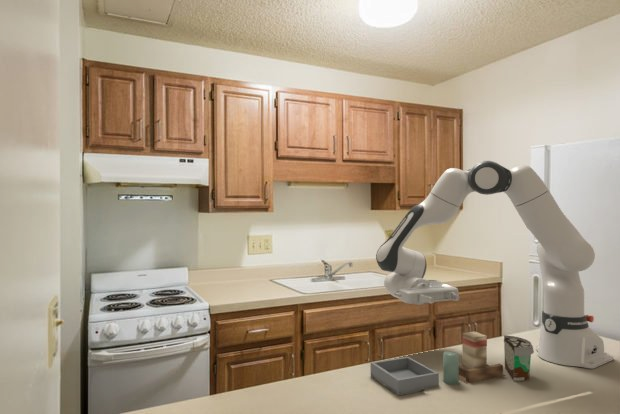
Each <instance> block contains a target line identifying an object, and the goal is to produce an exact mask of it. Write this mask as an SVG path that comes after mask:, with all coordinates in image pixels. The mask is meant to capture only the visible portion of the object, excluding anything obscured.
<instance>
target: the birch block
mask: <svg viewBox="0 0 620 414" xmlns="http://www.w3.org/2000/svg"><path fill="white" fill-rule="evenodd" d="M461 335H462V336H461V343H462V344H461V346H462V353H461V354H462V361H461V363H462V365H461V367H463V368H465V369H467V370H468V369H473V368H479V367H484V366H487V364H488V362H487V360H488V359H487V356H488V355H487V346H488V340H487V338H488V337H487V335H485V334H484V333H480V332H477V331H474V330H473V331H467V332H462V334H461Z"/></svg>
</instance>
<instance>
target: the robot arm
mask: <svg viewBox="0 0 620 414" xmlns="http://www.w3.org/2000/svg"><path fill="white" fill-rule="evenodd" d="M474 192H476V193H478V194H480V195H487V196H488V195H494V194H499V193H504V194H505V195H507V197H508V198H509V199H510V202H511V203H512V205H513V206H514V208H515V211H516V212H517V213H518V215H519V216H520V219H521V220H522V222H523V223H524V225H525V226H526V228H527V229H528V230H529V231H530V233H531V234H532V235H533V236H534V238H535V239H536V240H537V242H538V243H537V244H536V245H537V246H536V252H537V255H538V260H539V267H540V269H539V270H540V275H541V279H542V286H543V287H542V289H543V290H542V291H543V299H542V300H543V310H541V323H542V325H541V326H540V329H539V337H538V345H537V346H535V347H536V348H535V350H536V351H537V356H538V357H539V358H541V359H543V360H545V361H547V362H550V363H553V364H557V365H562V366H569V367H581V368H586V369H595V368H598V367H601V366H603V365H605V364H607V363H609V362H611V361H613V360H614V356H613V355H612V354H610V353H609V352H606V351H605V343H604V340H603V338H602V337H600V335H598V334H597V333H596V332H594V331H593V330H592V329H591V328H590V325H589V323H594V321H595V317H594V315H589V314H585V289H584V287H583V284H582V281H581V277H580V273H579V272H583V271H585V270H587V269H589V268H590V267H591V266H592V265H593V264H594V262H595V258H596V253H595V250H594V247H592V245H591V244H590V243H589V242H588V241H587V240H586V239H585V238H584V237H583V236H582V234H581V233H580V232H579V231H578V229H577V228H576V227H575V225H574V224H573V223H572V222H571V221H570V220H569V219H568V217H567V216H566V215H565V214H564V212H563V210H562V209H561V207H559V205H558V203H557V201H556V199H555V197H553V195H552V193H551V191H550V190H549V187H547V185H546V184H545V182H544V181H543V180H542V178H541V177H540V175H538V173H537V172H536V170H535V169H533V168H532V167H531V166H528V165H525V164H524V165H523V164H522V165H517V166H514V167H512V168H506V167H505V166H502V165H501V164H499V163H497V162H496V161H495V160H494V161H493V160H482V161H478V162H477V163H475V164H474V165H473V166H472V167H471V168H470V169H467V171H466V170H463V169H460V168H456V167H450V168H448V169H446V170H444V172H443V173H442V174H441V176H440V177H439V178H438V180H437V181H436V182H435V183H434V186H433V187H432V189H431V190H430V192H429V194H428V195H427V196H426V198H425V199H424V200H423V201H422V202H420V203H419V204H416V205H414V206H412V207H411V208H410V210H408V212H407V213H406V214H405V215H404V217H403V218H402V219H401V221H400V222H399V224H398V225H397V226H396V228H395V229H394V231H393V232H392V233H391V234H390V236H389V237H388V238H387V239H386V240H385V241H384V242H383V243H382V244H381V245H380V246H379V248H378V249H377V251H376V254H375V260H376V263H377V265H378V267H379V268H380V270H381V271H384V272H388V273H389V272H390V273H389V274H387V275H386V276H385V278H384V283H383V284H384V288H385V290H386V291H387V293H388V294H390V295H391V296H392V297H394V298H397V299H398V300H400V301H401V302H403V303H405V304H410V305H417V306H422V305H425V304H426V303H427V304H435V302H444V301H445V302H446V301H447V302H448V301H454V302H457V301H460V295H459V294H460V293H459V289H458V287H455V286H452V285H450V284H447V283H441V281H440V280H436V279H427V278H426V279H425V278H424V277H425V275H426V272H427V259H426V256H425V255H424V254H423V253H422V252H421V251H420V252H419V251H417V250H414V249H411V248H407V247H405V246H404V245H405V243H407V241H408V240H409V239H410V237H411V236H412V235H413V234H414V232H415V231H416V230H417V229H419V228H420V227H424V226H429V225H442V224H447V223H448V222H450V221H452V220H453V219H454V217H455V216H456V215H457V214H458V212H459V210H460V208H461V206H462V205H463V203H464V201H465V199H466V198H467V197H468V195H470V194H471V193H474Z"/></svg>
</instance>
